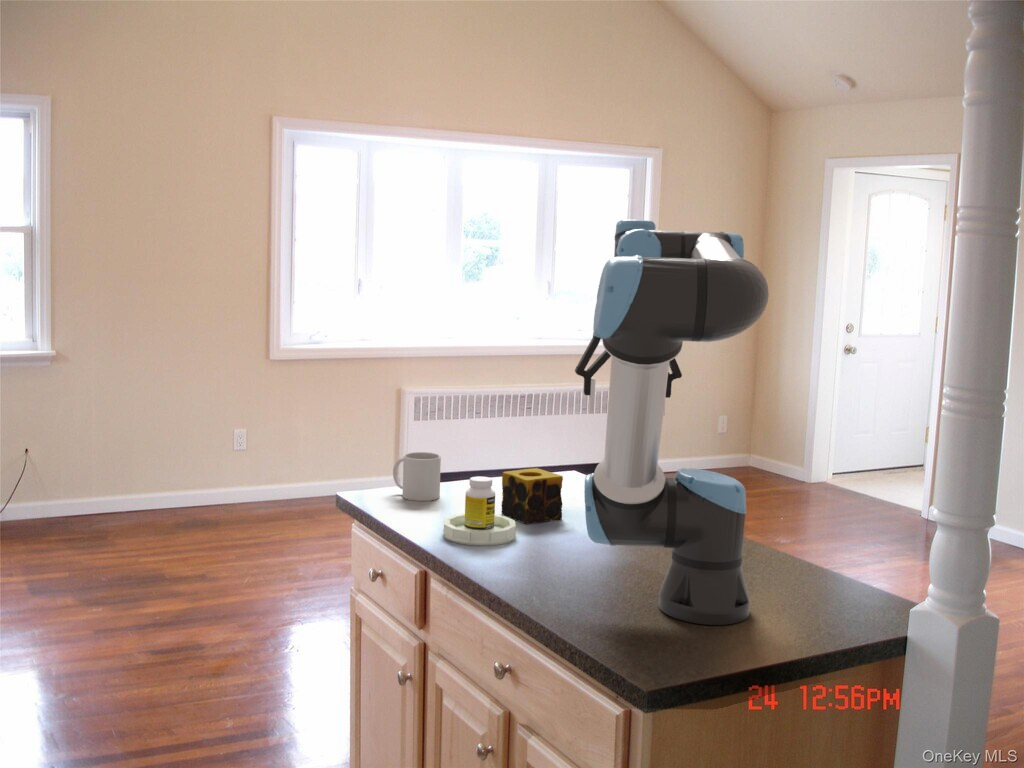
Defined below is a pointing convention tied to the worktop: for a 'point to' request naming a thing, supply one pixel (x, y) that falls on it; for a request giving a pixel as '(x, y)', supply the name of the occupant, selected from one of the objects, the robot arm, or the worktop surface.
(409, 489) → the mug
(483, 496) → the pill bottle
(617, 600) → the worktop surface
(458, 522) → the sage dish
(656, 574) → the worktop surface
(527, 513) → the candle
